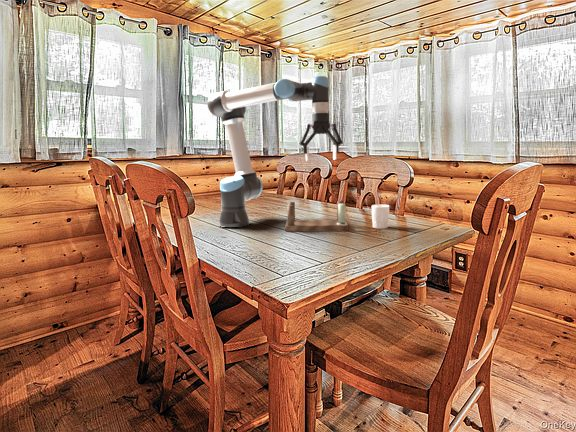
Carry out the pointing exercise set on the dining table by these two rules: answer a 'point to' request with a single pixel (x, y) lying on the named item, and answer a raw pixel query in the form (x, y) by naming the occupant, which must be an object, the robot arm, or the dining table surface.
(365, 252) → the dining table surface
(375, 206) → the white cup
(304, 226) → the wooden peg stand
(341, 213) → the hinged leg
